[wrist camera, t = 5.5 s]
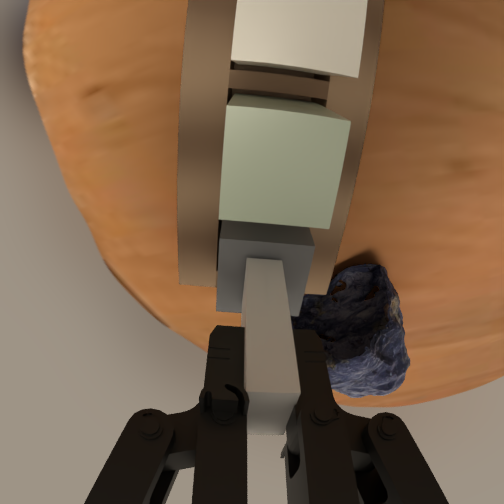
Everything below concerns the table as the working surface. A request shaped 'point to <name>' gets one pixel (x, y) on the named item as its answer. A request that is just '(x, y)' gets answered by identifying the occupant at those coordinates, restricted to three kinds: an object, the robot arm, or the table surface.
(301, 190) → the sage key
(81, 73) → the table surface
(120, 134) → the table surface
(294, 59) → the ivory key
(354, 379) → the rock
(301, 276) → the charcoal key
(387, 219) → the table surface
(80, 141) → the table surface
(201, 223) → the block
